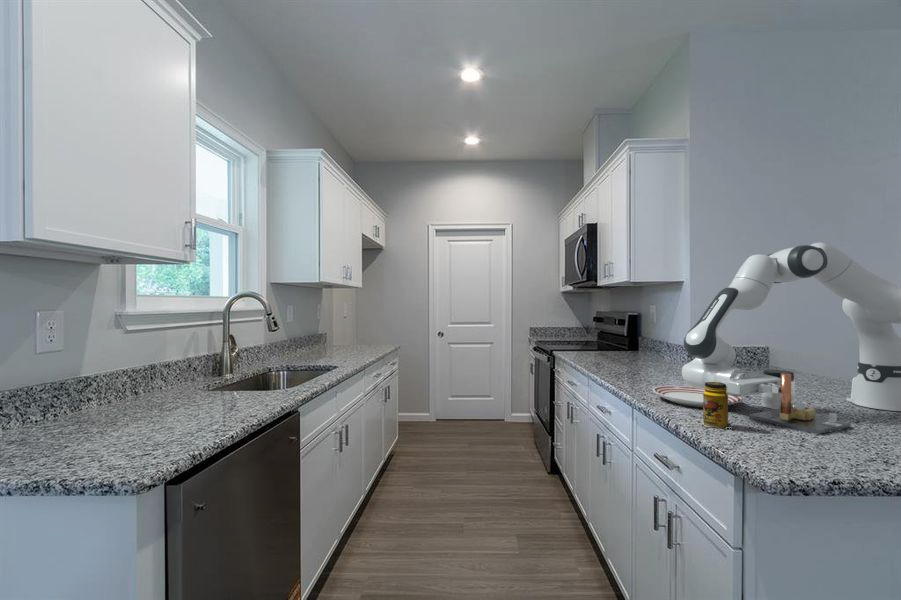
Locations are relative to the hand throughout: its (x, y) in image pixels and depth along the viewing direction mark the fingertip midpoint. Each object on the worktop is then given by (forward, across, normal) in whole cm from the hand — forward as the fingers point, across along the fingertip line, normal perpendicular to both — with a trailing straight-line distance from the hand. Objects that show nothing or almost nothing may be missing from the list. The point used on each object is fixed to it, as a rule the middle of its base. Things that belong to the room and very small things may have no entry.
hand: (781, 390), depth 128 cm
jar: (-12, +21, +10) cm, 27 cm away
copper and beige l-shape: (0, +5, +8) cm, 10 cm away
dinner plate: (-30, +5, +10) cm, 32 cm away
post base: (+1, +7, +10) cm, 12 cm away
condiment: (-8, -17, +10) cm, 21 cm away
